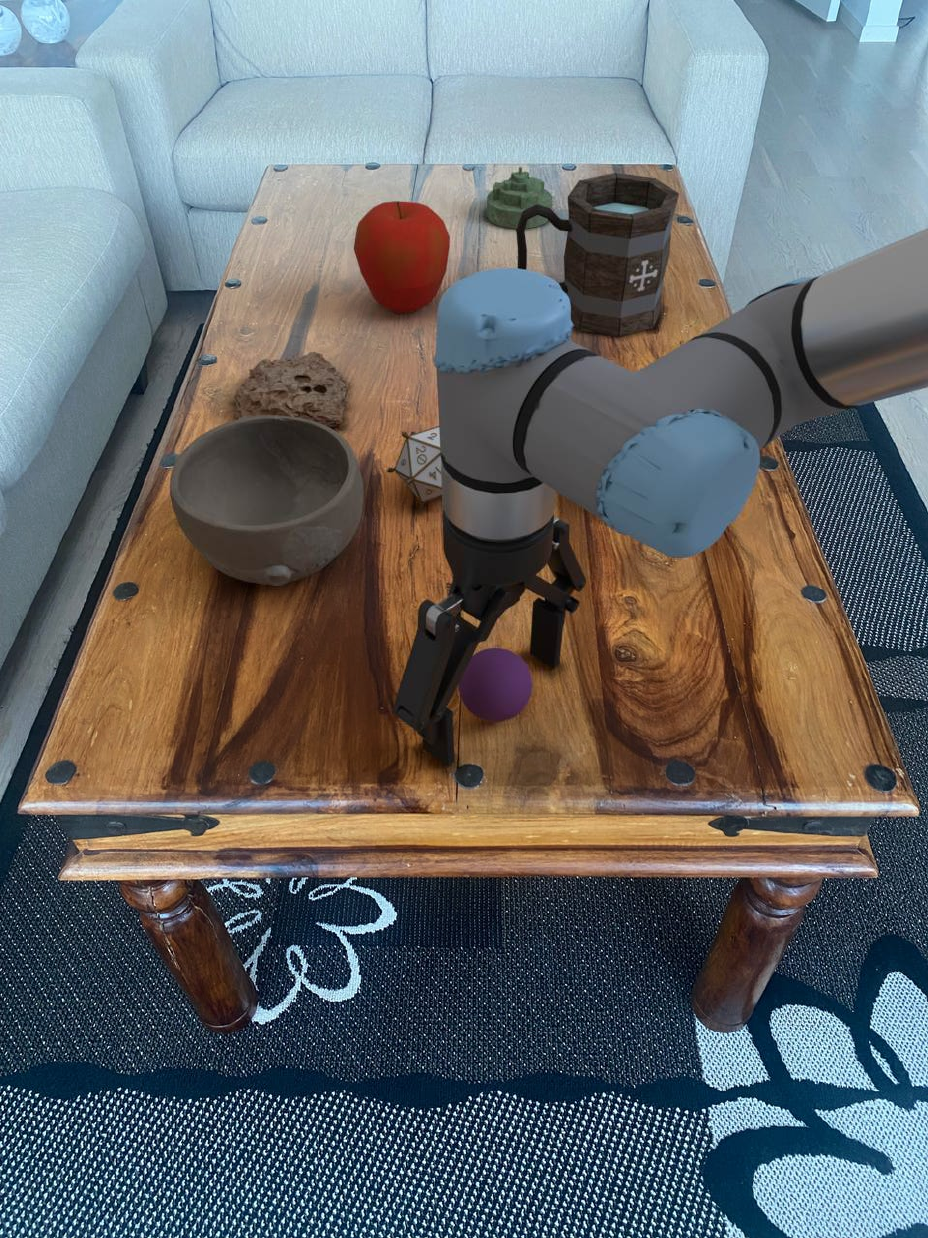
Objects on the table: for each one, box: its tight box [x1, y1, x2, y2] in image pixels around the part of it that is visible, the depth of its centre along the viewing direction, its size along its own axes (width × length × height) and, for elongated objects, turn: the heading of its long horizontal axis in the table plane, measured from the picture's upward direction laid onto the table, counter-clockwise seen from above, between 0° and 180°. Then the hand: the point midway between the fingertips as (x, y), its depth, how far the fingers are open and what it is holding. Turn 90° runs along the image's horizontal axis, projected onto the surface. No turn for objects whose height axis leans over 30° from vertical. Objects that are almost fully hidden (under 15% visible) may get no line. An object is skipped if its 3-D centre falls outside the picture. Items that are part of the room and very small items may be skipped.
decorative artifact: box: [486, 166, 553, 230], centre depth 140 cm, size 10×7×10 cm
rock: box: [234, 351, 349, 429], centre depth 108 cm, size 14×13×4 cm
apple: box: [353, 200, 451, 314], centre depth 118 cm, size 12×12×14 cm
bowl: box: [169, 415, 365, 587], centre depth 87 cm, size 17×18×10 cm
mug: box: [515, 172, 680, 338], centre depth 116 cm, size 20×14×15 cm
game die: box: [386, 425, 442, 512], centre depth 93 cm, size 9×8×10 cm
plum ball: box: [458, 647, 533, 723], centre depth 75 cm, size 6×6×6 cm
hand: (493, 705), depth 77 cm, fingers open, 13 cm apart
